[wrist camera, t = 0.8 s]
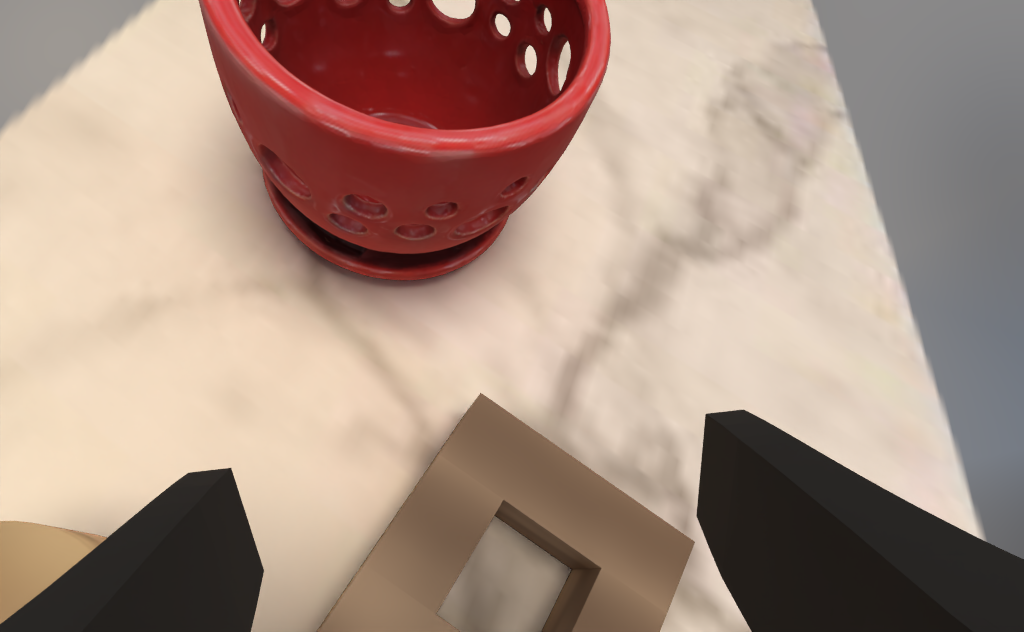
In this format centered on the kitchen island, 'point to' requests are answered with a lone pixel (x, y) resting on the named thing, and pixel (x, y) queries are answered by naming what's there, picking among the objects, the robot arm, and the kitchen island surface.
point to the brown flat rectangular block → (532, 512)
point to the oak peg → (36, 560)
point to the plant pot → (404, 118)
